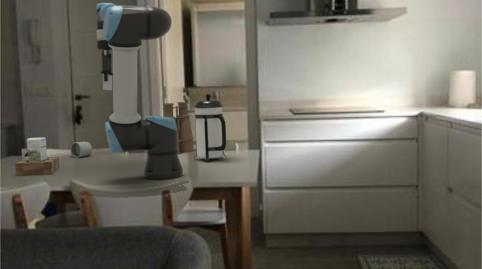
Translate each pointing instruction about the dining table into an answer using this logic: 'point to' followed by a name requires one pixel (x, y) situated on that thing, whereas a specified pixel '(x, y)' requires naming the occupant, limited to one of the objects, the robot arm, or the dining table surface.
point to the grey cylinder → (81, 149)
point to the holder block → (37, 167)
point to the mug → (24, 153)
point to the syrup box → (37, 149)
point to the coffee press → (209, 129)
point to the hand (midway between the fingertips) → (107, 89)
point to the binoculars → (181, 126)
